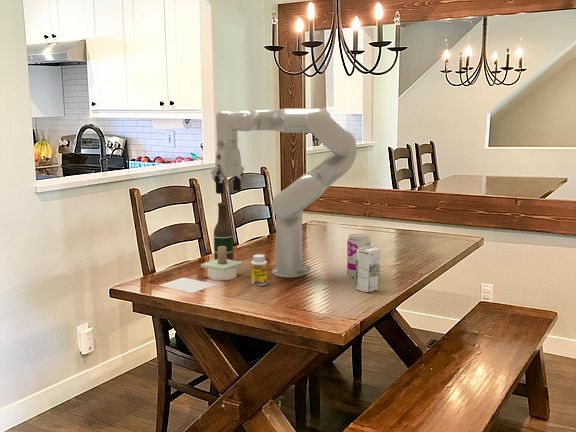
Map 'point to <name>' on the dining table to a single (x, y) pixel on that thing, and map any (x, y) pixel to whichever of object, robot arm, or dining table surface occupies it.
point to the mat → (187, 285)
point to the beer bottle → (223, 233)
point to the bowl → (222, 274)
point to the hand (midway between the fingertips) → (228, 192)
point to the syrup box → (367, 268)
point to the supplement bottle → (259, 270)
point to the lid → (222, 261)
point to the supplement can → (352, 246)
